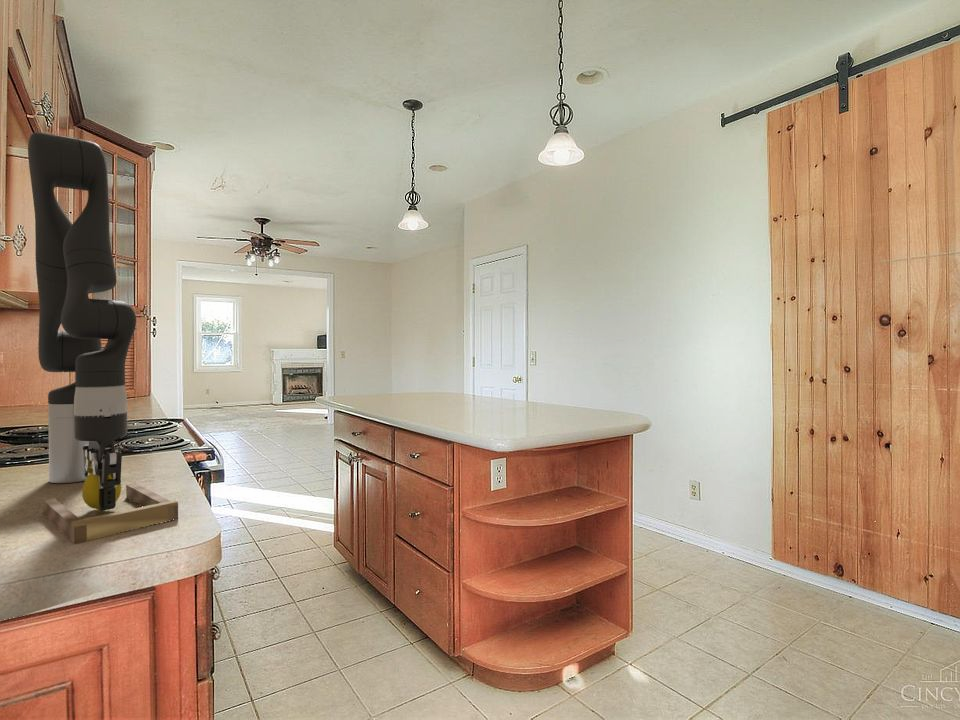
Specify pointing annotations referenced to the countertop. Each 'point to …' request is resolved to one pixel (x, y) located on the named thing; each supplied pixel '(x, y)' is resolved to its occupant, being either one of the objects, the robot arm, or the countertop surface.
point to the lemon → (95, 491)
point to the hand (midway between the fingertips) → (102, 505)
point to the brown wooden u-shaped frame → (112, 516)
